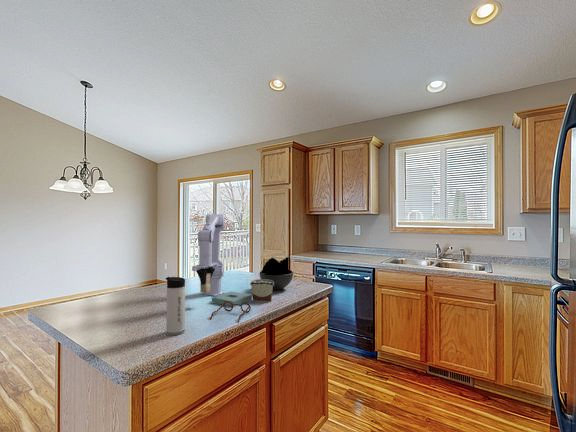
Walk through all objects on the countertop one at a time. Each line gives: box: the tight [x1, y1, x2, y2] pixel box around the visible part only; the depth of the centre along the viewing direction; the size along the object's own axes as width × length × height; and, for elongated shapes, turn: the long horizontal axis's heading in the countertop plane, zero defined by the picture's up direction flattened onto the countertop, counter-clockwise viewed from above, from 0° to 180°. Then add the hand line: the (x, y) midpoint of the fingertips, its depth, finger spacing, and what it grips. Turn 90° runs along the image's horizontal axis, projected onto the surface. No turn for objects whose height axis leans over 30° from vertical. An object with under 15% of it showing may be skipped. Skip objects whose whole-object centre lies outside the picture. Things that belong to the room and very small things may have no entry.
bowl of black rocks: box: [259, 256, 294, 291], centre depth 169 cm, size 20×20×19 cm
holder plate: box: [211, 291, 253, 308], centre depth 144 cm, size 14×14×2 cm
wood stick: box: [199, 273, 210, 293], centre depth 136 cm, size 4×2×9 cm, turn 59°
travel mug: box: [165, 276, 186, 337], centre depth 104 cm, size 6×7×20 cm
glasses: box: [209, 301, 252, 323], centre depth 122 cm, size 13×13×5 cm
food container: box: [249, 278, 274, 303], centre depth 147 cm, size 12×6×10 cm, turn 84°
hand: (205, 283), depth 136 cm, fingers closed on wood stick, 2 cm apart
